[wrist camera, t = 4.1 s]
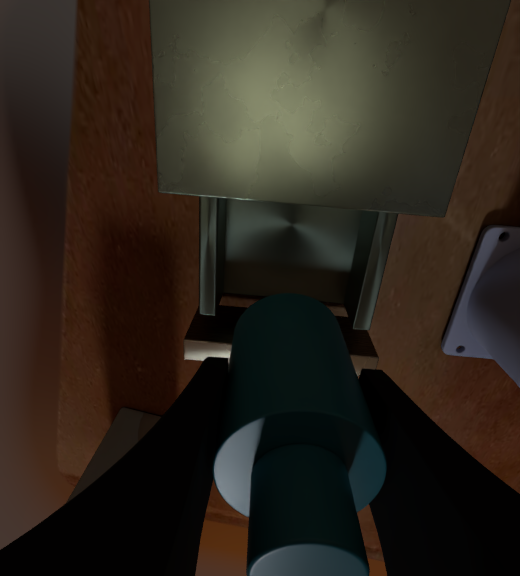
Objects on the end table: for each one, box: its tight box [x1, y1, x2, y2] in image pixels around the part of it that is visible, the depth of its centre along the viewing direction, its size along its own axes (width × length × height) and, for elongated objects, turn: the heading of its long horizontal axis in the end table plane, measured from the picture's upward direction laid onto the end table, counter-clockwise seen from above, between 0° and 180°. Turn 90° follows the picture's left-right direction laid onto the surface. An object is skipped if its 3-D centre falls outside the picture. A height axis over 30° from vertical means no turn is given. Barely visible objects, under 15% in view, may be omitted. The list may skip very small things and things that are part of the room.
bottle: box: [212, 293, 387, 576], centre depth 10 cm, size 4×4×8 cm
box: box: [67, 407, 161, 502], centre depth 21 cm, size 5×4×11 cm
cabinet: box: [149, 0, 511, 217], centre depth 13 cm, size 12×11×6 cm
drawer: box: [184, 196, 398, 376], centre depth 17 cm, size 12×9×4 cm
